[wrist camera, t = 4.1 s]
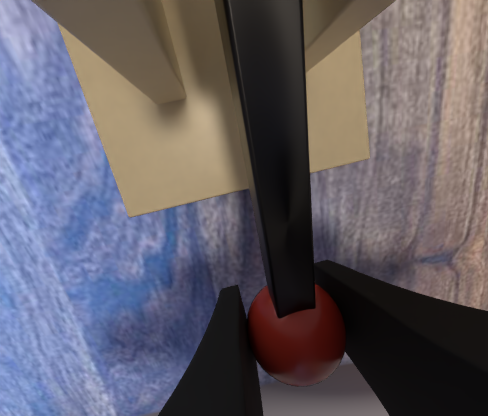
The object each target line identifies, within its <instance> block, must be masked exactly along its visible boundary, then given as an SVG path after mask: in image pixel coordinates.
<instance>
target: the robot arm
mask: <svg viewBox="0 0 488 416" xmlns="http://www.w3.org/2000/svg"><path fill="white" fill-rule="evenodd" d="M314 277H315V284H317V285H319V286H320V287H322V288H323V289H324V290H326V291H327V292H328V293H329V294H330V295H331V297H332V298H333V299H334V300H335V302H336V303H337V305H338V307H339V309H340V311H341V313H342V315H343V318H344V322H345V326H346V335H347V339H346V348H345V352H346V353H347V355H348V356H349V357H350V359H351V360H352V362H353V363H354V364H355V366H356V367H357V369H358V370H359V371H360V373H361V374H362V376H363V377H364V379H365V380H366V381H367V383H368V384H369V385H370V387H371V388H372V390H373V391H374V392H375V394H376V396H377V397H378V398H379V400H380V401H381V403H382V405H383V406H384V408H385V409H386V411H387V412H388V414H389V416H488V311H485V310H480V309H476V308H471V307H467V306H463V305H459V304H455V303H451V302H448V301H444V300H440V299H436V298H433V297H429V296H426V295H422V294H419V293H416V292H413V291H410V290H407V289H404V288H401V287H398V286H395V285H392V284H389V283H386V282H384V281H381V280H378V279H375V278H373V277H370V276H368V275H365V274H363V273H360V272H358V271H355V270H353V269H350V268H348V267H345V266H343V265H340V264H338V263H335V262H332V261H329V260H325V261H321V262H317V263H314ZM158 416H263V409H262V401H261V393H260V385H259V378H258V370H257V362H256V359H255V357H254V355H253V353H252V350H251V348H250V345H249V340H248V335H247V317H246V313H245V310H244V306H243V302H242V298H241V294H240V290H239V287H238V285H234V286H230V287H227V288H223V289H222V290H221V291H220V293H219V297H218V300H217V303H216V306H215V309H214V312H213V315H212V317H211V320H210V322H209V324H208V327H207V329H206V332H205V334H204V336H203V338H202V340H201V342H200V344H199V346H198V348H197V351H196V353H195V355H194V357H193V359H192V360H191V362H190V364H189V366H188V368H187V370H186V371H185V373H184V375H183V377H182V378H181V380H180V382H179V383H178V385H177V387H176V388H175V390H174V392H173V393H172V395H171V396H170V398H169V399H168V401H167V402H166V404H165V406H164V407H163V409H162V410H161V412H160V413H159V415H158Z"/></svg>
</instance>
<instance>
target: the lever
mask: <svg viewBox="0 0 488 416" xmlns="http://www.w3.org/2000/svg"><path fill="white" fill-rule="evenodd" d="M214 2H215V7H216V13H217V18H218V23H219V29H220V34H221V40H222V45H223V50H224V56H225V61H226V66H227V72H228V77H229V82H230V88H231V93H232V99H233V104H234V109H235V115H236V120H237V125H238V131H239V136H240V142H241V147H242V152H243V158H244V163H245V168H246V174H247V179H248V184H249V190H250V195H251V201H252V206H253V211H254V217H255V222H256V227H257V233H258V238H259V243H260V249H261V254H262V260H263V265H264V270H265V276H266V281H267V285H266V286H265V287H264V288H262V289H261V290H260V292H259V293H258V294H257V295H256V296H255V298H254V300H253V302H252V304H251V306H250V309H249V312H248V317H247V335H248V340H249V345H250V348H251V350H252V353H253V355H254V357H255V359H256V360H257V362H258V363H259V365H260V366H261V367H262V368H263V369H264V370H265V371H266V372H267V373H268V374H269V375H270V376H272V377H273V378H275V379H276V380H278V381H280V382H282V383H285V384H287V385H291V386H297V387H304V386H312V385H315V384H318V383H320V382H322V381H324V380H325V379H327V378H328V377H329V376H330V375H331V374H333V373H334V371H335V370H336V369H337V367H338V366H339V364H340V363H341V360H342V358H343V356H344V352H345V348H346V339H347V335H346V326H345V322H344V318H343V315H342V313H341V311H340V309H339V307H338V305H337V303H336V302H335V300H334V299H333V298H332V297H331V295H330V294H329V293H328V292H327V291H326V290H324V289H323V288H322V287H320V286H319V285H317V284H315V277H314V254H313V231H312V208H311V185H310V162H309V139H308V116H307V93H306V70H305V47H304V24H303V1H302V0H214Z"/></svg>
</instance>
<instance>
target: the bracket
mask: <svg viewBox="0 0 488 416" xmlns="http://www.w3.org/2000/svg"><path fill="white" fill-rule="evenodd" d="M31 1H32V2H33V3H35V4H36V5H37V6H38V7H39V8H41V9H42V10H43V11H44V12H46V13H47V14H48V15H49V16H50V17H52V18H53V19H54V20H55V21H56V22H57V23H58V26H59V28H60V31H61V34H62V36H63V39H64V42H65V45H66V47H67V50H68V53H69V55H70V58H71V61H72V64H73V66H74V69H75V72H76V74H77V77H78V80H79V83H80V85H81V88H82V91H83V93H84V96H85V99H86V102H87V104H88V107H89V110H90V112H91V115H92V118H93V121H94V123H95V126H96V129H97V132H98V134H99V137H100V140H101V142H102V145H103V148H104V151H105V153H106V156H107V159H108V161H109V164H110V167H111V170H112V172H113V175H114V178H115V180H116V183H117V186H118V189H119V191H120V194H121V197H122V199H123V202H124V205H125V208H126V210H127V213H128V216H129V217H135V216H139V215H143V214H147V213H151V212H155V211H159V210H163V209H168V208H172V207H176V206H180V205H184V204H188V203H192V202H196V201H200V200H204V199H208V198H212V197H216V196H220V195H224V194H228V193H232V192H237V191H241V190H245V189H249V184H248V179H247V174H246V168H245V163H244V158H243V152H242V147H241V142H240V136H239V131H238V125H237V120H236V115H235V109H234V104H233V99H232V93H231V88H230V82H229V77H228V72H227V66H226V61H225V56H224V50H223V45H222V40H221V34H220V29H219V23H218V18H217V13H216V7H215V2H214V0H31ZM302 1H303V24H304V47H305V70H306V93H307V116H308V139H309V162H310V173H314V172H318V171H322V170H326V169H330V168H334V167H338V166H342V165H346V164H350V163H354V162H358V161H362V160H366V159H369V158H370V152H369V140H368V127H367V115H366V103H365V90H364V78H363V66H362V53H361V41H360V29H361V28H362V27H363V26H365V25H366V24H367V23H368V22H370V21H371V20H372V19H373V18H375V17H376V16H377V15H378V14H380V13H381V12H382V11H383V10H385V9H386V8H387V7H388V6H389V5H391V4H392V3H393V2H394V1H396V0H302Z"/></svg>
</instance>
